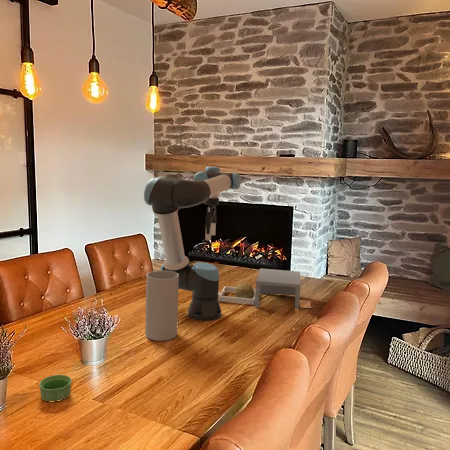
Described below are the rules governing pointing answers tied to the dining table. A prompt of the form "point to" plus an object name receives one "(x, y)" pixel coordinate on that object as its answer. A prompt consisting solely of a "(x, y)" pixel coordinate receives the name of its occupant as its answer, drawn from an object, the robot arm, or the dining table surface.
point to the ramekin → (55, 387)
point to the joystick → (235, 299)
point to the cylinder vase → (161, 305)
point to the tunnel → (278, 284)
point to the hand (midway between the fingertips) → (210, 237)
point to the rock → (244, 291)
